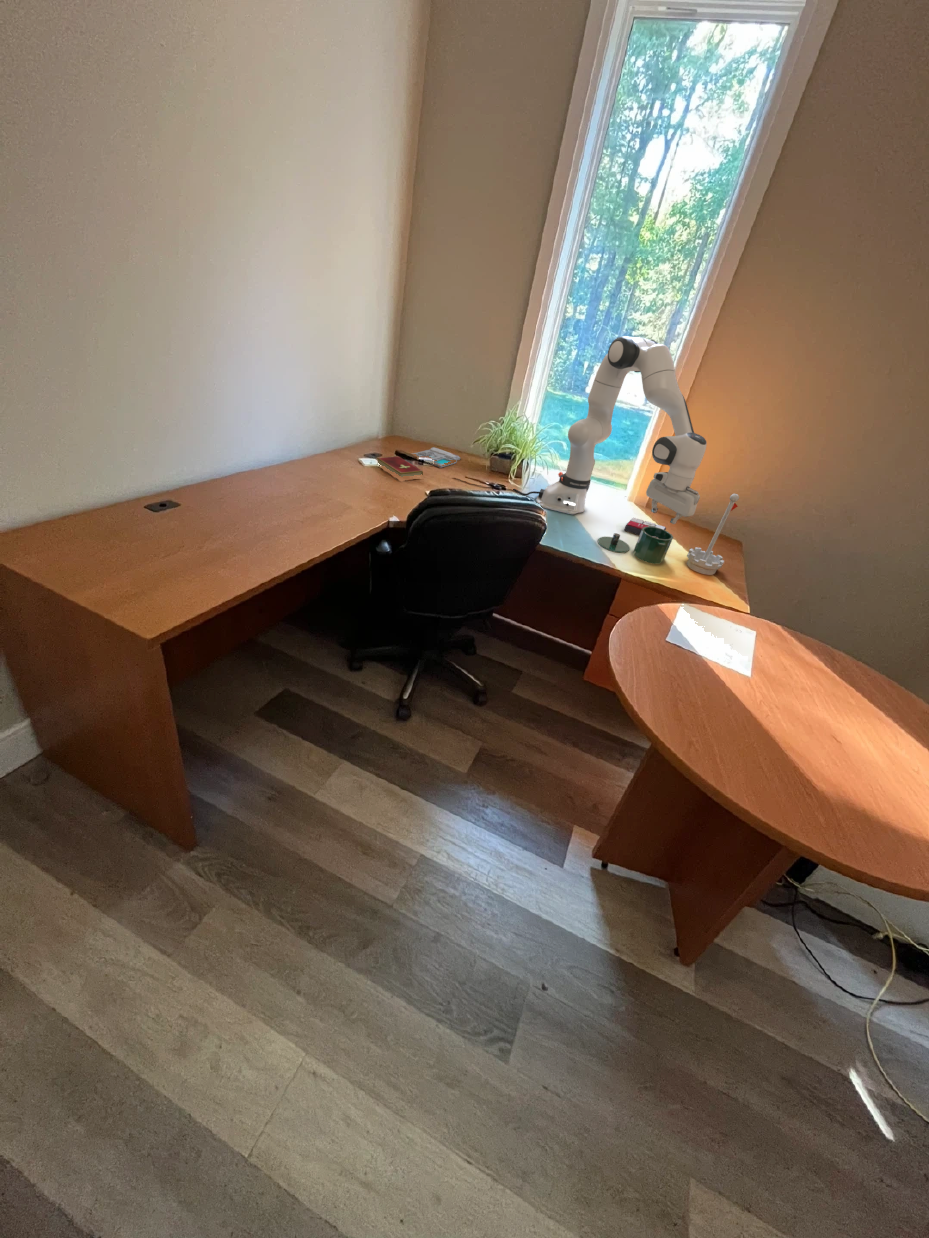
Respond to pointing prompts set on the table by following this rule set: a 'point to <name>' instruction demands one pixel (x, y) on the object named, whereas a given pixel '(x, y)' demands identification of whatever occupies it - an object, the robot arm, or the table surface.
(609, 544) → the tin lid
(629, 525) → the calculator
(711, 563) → the flag stand
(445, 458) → the office telephone
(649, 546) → the tin
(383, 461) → the hardcover book
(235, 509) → the table surface
